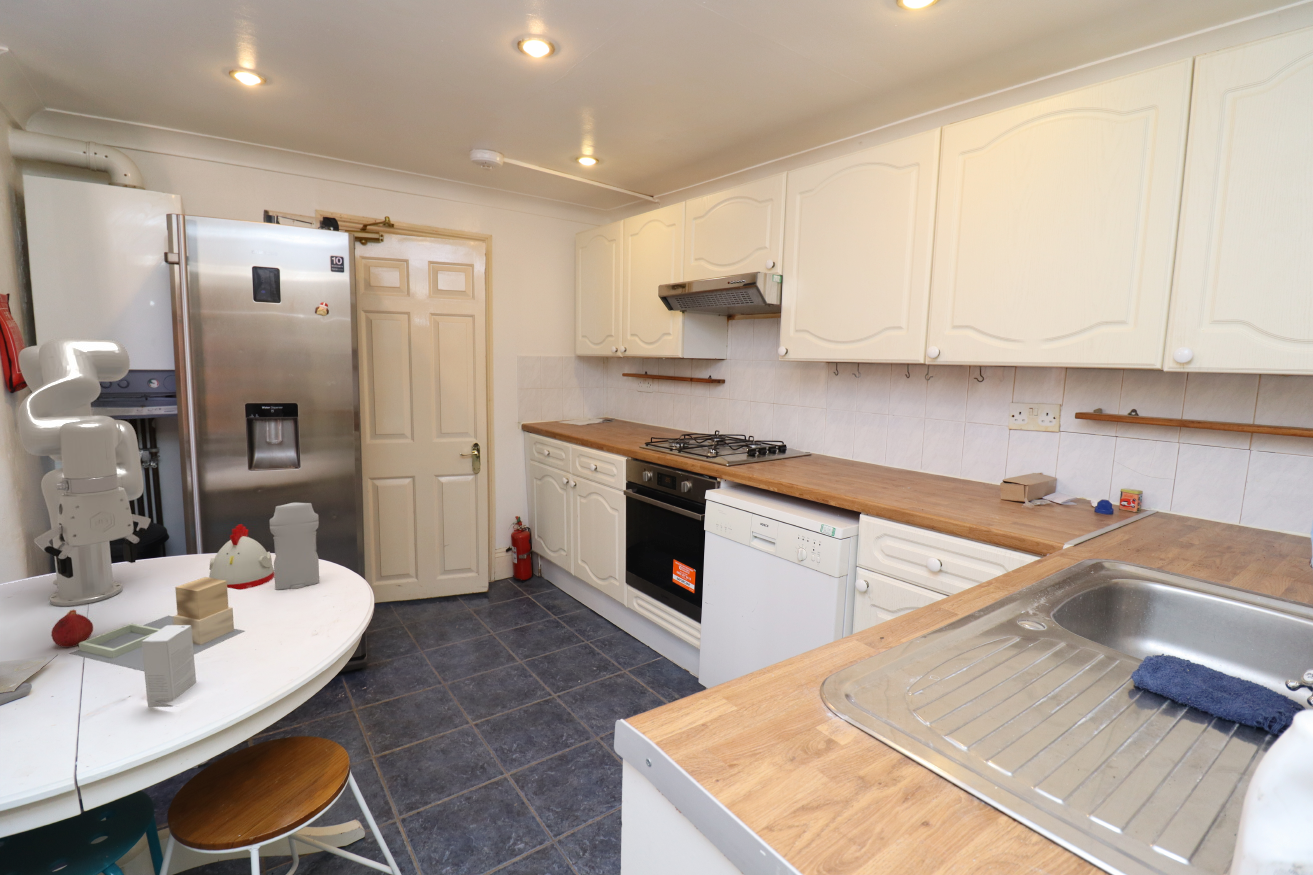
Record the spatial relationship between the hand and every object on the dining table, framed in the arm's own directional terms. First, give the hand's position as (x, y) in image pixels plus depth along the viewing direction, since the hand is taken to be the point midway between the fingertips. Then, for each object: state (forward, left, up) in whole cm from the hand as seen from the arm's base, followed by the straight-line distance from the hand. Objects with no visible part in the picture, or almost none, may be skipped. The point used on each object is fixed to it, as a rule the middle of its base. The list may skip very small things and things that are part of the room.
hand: (99, 568), depth 117 cm
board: (+10, +3, -16) cm, 20 cm away
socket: (+4, 0, -15) cm, 16 cm away
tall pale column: (+8, +37, -17) cm, 42 cm away
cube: (+15, +8, -10) cm, 20 cm away
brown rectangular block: (+15, +8, -15) cm, 23 cm away
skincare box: (+30, -9, -17) cm, 36 cm away
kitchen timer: (-8, +35, -17) cm, 40 cm away
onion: (-5, -3, -17) cm, 17 cm away
